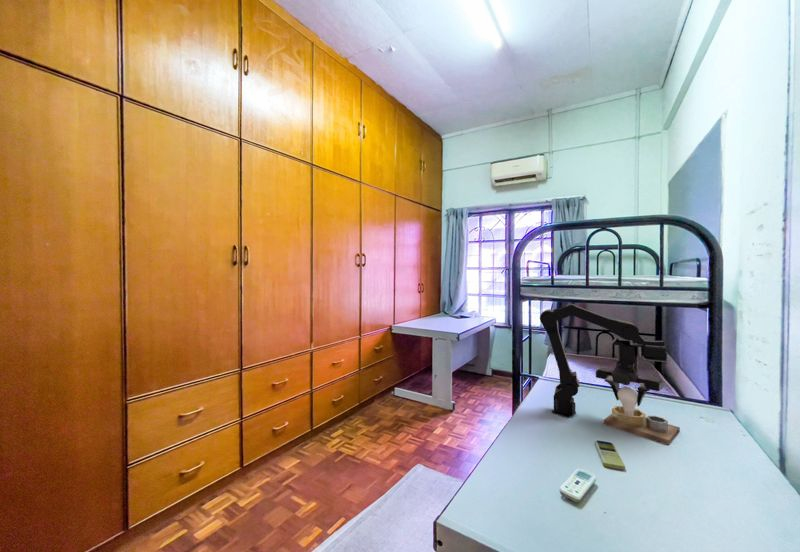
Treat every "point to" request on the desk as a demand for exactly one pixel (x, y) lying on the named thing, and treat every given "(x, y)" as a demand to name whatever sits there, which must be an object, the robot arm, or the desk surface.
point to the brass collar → (635, 420)
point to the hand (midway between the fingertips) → (628, 402)
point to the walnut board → (645, 430)
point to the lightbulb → (628, 399)
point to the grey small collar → (657, 423)
